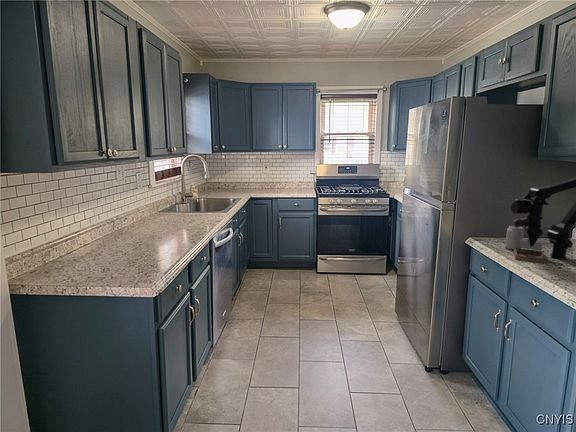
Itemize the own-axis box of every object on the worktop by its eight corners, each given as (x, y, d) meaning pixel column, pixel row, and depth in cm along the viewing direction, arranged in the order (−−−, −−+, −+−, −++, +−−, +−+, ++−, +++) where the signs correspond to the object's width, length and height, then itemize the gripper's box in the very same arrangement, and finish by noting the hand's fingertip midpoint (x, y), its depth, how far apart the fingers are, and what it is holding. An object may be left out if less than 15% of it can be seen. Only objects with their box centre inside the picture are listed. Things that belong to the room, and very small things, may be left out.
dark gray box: (519, 245, 186) (520, 238, 185) (541, 248, 181) (542, 241, 180) (519, 247, 182) (520, 240, 181) (541, 250, 177) (542, 243, 176)
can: (524, 250, 193) (527, 228, 191) (510, 250, 193) (513, 228, 191) (515, 246, 201) (518, 225, 198) (501, 246, 201) (504, 225, 198)
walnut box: (513, 251, 192) (514, 247, 191) (542, 255, 186) (543, 251, 185) (515, 259, 179) (515, 255, 179) (546, 263, 173) (547, 259, 173)
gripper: (514, 209, 190) (510, 238, 193) (516, 215, 174) (512, 247, 177) (540, 211, 185) (536, 241, 188) (545, 217, 169) (540, 250, 172)
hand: (530, 244), depth 181 cm, fingers closed on dark gray box, 5 cm apart
